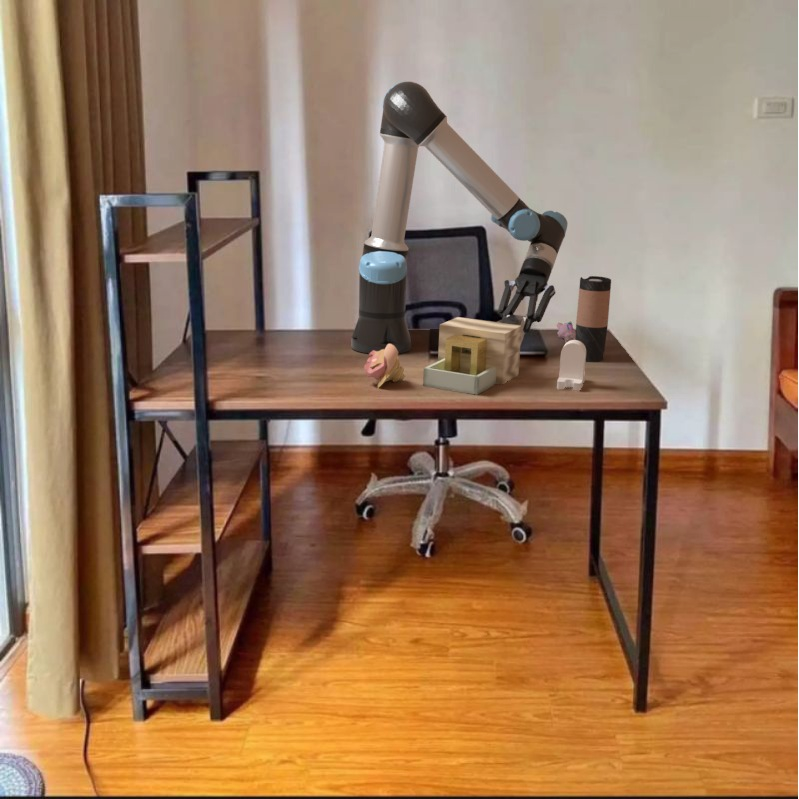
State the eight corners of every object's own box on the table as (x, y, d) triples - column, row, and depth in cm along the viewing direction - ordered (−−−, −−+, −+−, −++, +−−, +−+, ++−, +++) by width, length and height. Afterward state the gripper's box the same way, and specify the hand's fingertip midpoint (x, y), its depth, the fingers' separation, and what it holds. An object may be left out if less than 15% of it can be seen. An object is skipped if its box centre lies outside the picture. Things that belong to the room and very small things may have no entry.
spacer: (453, 374, 232) (455, 334, 230) (484, 379, 229) (486, 338, 226) (444, 379, 228) (445, 338, 225) (475, 384, 225) (477, 343, 222)
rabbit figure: (584, 351, 266) (572, 329, 279) (587, 330, 263) (574, 309, 277) (560, 351, 266) (549, 329, 279) (563, 330, 263) (552, 309, 276)
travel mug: (604, 363, 249) (611, 282, 243) (572, 360, 250) (579, 280, 245) (604, 355, 256) (611, 277, 250) (573, 353, 258) (580, 275, 252)
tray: (423, 385, 225) (423, 368, 224) (443, 375, 234) (444, 358, 233) (477, 394, 219) (478, 377, 218) (495, 383, 228) (496, 366, 227)
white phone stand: (584, 380, 233) (588, 338, 230) (580, 391, 224) (584, 347, 221) (561, 378, 235) (565, 336, 232) (556, 389, 225) (559, 345, 223)
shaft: (511, 328, 255) (512, 314, 254) (524, 330, 253) (525, 316, 252) (465, 350, 231) (466, 335, 230) (480, 352, 229) (481, 337, 228)
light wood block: (455, 365, 243) (457, 317, 240) (518, 375, 236) (521, 325, 233) (437, 374, 234) (439, 324, 231) (502, 384, 227) (505, 333, 224)
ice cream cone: (396, 377, 233) (419, 355, 226) (387, 408, 226) (410, 385, 219) (363, 357, 230) (385, 333, 224) (352, 387, 223) (375, 363, 217)
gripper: (504, 252, 260) (475, 327, 251) (566, 259, 253) (538, 336, 243) (510, 270, 266) (482, 344, 257) (571, 277, 259) (544, 353, 249)
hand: (509, 340), depth 250 cm, fingers closed on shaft, 3 cm apart
